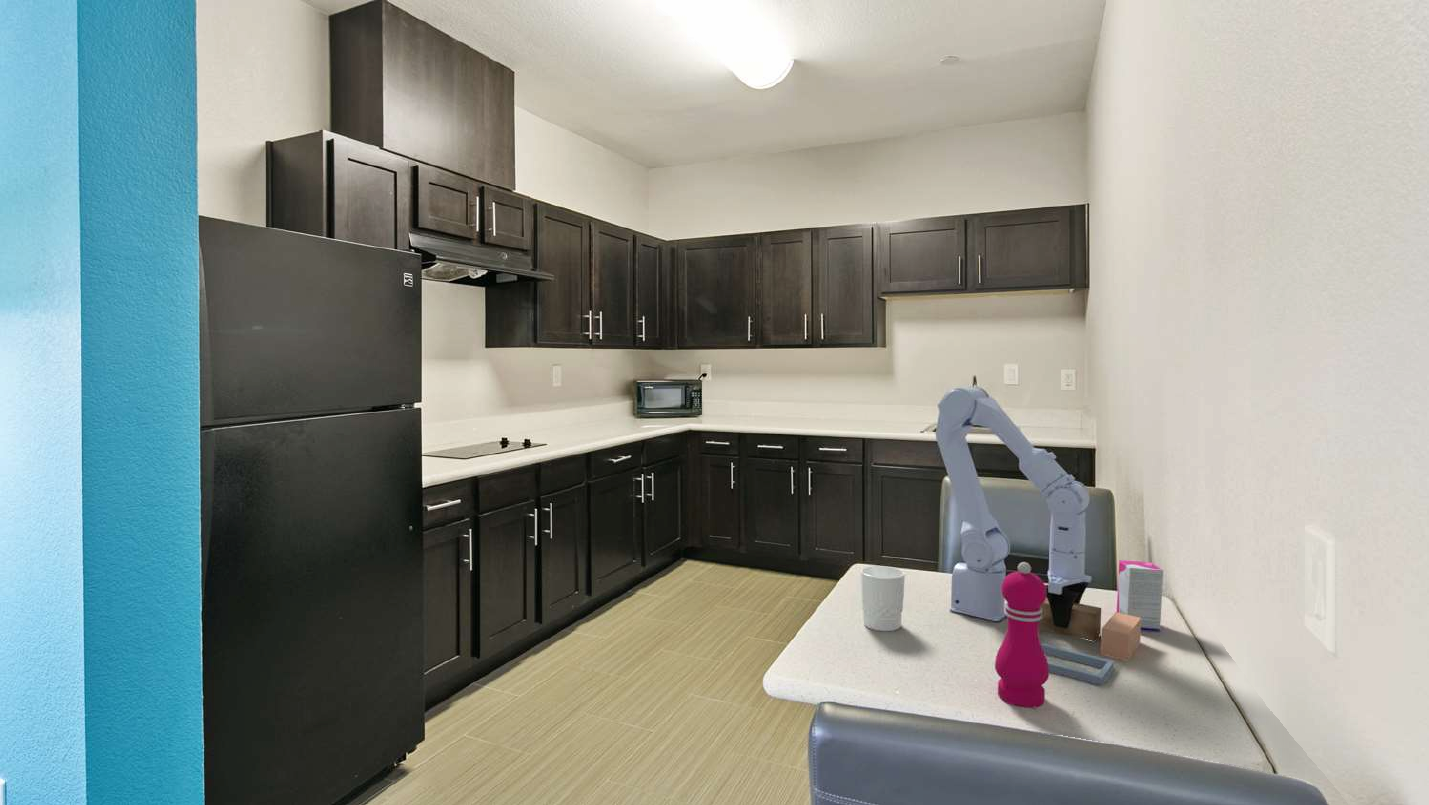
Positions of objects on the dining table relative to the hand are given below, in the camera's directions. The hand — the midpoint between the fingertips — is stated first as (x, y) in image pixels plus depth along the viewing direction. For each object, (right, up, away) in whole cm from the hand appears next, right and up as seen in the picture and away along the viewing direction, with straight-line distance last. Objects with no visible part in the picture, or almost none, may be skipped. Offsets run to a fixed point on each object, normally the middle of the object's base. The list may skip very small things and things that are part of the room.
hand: (1064, 623), depth 130 cm
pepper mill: (-19, -3, -26) cm, 32 cm away
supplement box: (+15, -2, +3) cm, 15 cm away
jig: (-8, -2, -14) cm, 16 cm away
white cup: (-32, -1, +3) cm, 33 cm away
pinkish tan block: (+6, -2, -8) cm, 10 cm away
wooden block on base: (0, -1, 0) cm, 2 cm away
